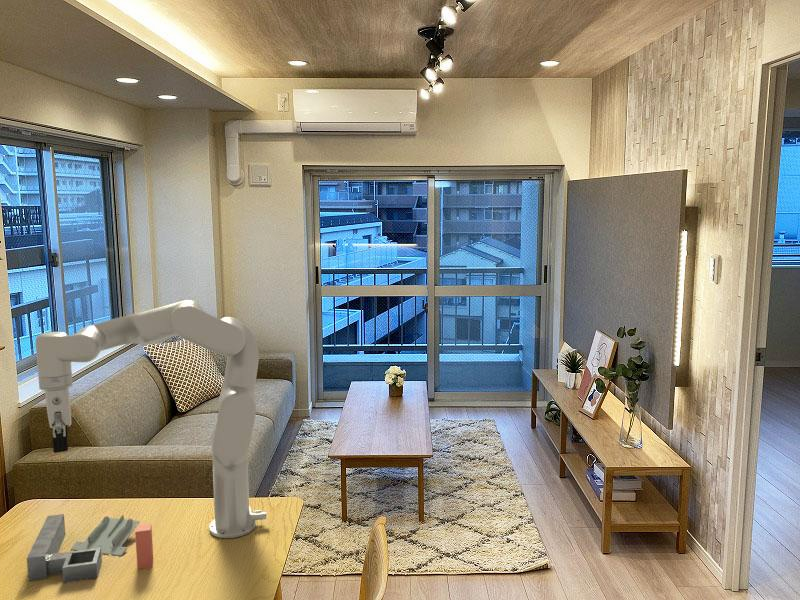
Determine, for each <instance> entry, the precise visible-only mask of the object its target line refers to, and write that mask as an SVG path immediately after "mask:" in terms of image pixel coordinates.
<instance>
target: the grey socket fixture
mask: <svg viewBox="0 0 800 600" xmlns="http://www.w3.org/2000/svg"><path fill="white" fill-rule="evenodd" d="M65 523H66V522H65V513H60V514H53V515H52V514H51V515H47V516H46V518H45V521H44V523H43V524H42V527H41V529H40V531H39V533H38V535H37V537H36V539H35V540H34V543H33V544H32V547H31V549H30V551H29V553H28V554H27V557H26V564H27V565H26V566H27V567H26V568H27V575H28V576H27V577H28V578H27V579H28V582H31V581H32V582H33V581H40V580H45V579H48V577H49V576H56V575H62V580H63V581H62V583H63V584H68V583H73V581H75V582H81V580H82V581H87V580H94V578H95V579H98V577H99V573H100V571H99V570H101V567H102V564H103V558H102V555H103V554H101V546H100V548H93V549H85V550H78V551H72V550H70V551H63V552H60V548H61V546H62V544H63V542H64V539H65V536H66V524H65ZM101 563H102V564H101ZM67 582H68V583H67Z"/></svg>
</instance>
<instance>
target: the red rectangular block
mask: <svg viewBox="0 0 800 600" xmlns="http://www.w3.org/2000/svg"><path fill="white" fill-rule="evenodd" d="M152 528H153V527H152V523H144V524H138V525H137V526H136V528H135V529H134V531H135V532H134V536H135V537H134V538H135V549H136V550H135V551H136V567H137V570H140V569H141V568H142V569H146V568H147V567H149V568H153V565H154V564H153V563H154V546H153V545H154V544H153V531H152V530H153V529H152Z"/></svg>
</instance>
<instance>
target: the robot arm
mask: <svg viewBox="0 0 800 600" xmlns="http://www.w3.org/2000/svg"><path fill="white" fill-rule="evenodd" d="M173 337H179V338H182V339H184V340H186V341H188V342H190V343H192V344H194V345H197V346H199V347H201V348H204V349H206V350H208V351H210V352H212V353H215V354H217V355H220V356H224V357H226V364H225V370H224V377H223V381H222V387H221V390H220V391H221V392H220V393H219V397H218V413H217V419H216V423H215V425H214V427H213V429H212V431H211V435H210V441H211V443H210V444H211V453H212V454H211V455H212V461H211V462H212V484H213V485H212V486H213V506H214V520H212V521H211V522H210V523H209V532H210V534H211V535H213V537H217V538H221V539H236V538H239V537H242V536H245V535H248V534H249V533H251V532H252V531H253V530H254V529H255V528H256V521H262V520H267V512H266V511H265V512H264V511H263V512H262V509H257V510H253V509H251V505H250V493H249V492H250V488H249V487H250V485H249V456H248V455H249V450H250V446H251V442H252V438H253V437H252V435H253V431H254V426H255V421H256V413H257V405H256V398H255V387H256V382H257V381H256V380H257V375H258V369H259V362H260V361H259V358H260V357H259V356H260V355H259V352H260V351H259V347H258V343H257V339H256V338H255V335H254V333H253V332H252V330H251V329H250V328H249V327H248V326H247V325H246V324H245V323H244V322H243V321H241V320H240V319H238V318H236V317H233V316H224V317H222V318H219V317H216V316H214V315H212V314H210V313H208V312H206V311H204V308H203V307H202V306H201V304H200V303H198V302H197V301H195V300H192V299H190V300H189V299H186V300H181V301H177V302H173V303H170V304H166V305H163V306H160V307H156V308H155V307H154V308H152V309H149V310H145V311H141V312H138V313H133V314H129V315H126V316H120V317H115V318H113V319H109V320H105V321H101V322H97V323H93V324H90V325H87V326H84V327H83V328H81V329H79V330H78V331H77V332H76V333H74V334H70V335H68V334H67V333H66V332H62V331H49V332H43V333H40V334H39V335H37V336H36V337H35V352H36V364H37V375H38V387H39V388H38V389H39V390H40V391H44V393H45V403H46V413H47V418H48V419H47V420H48V424H49V428H51V429H52V434H53V435H52V449H53V450H52V451H53V453H55V454H56V453H57V454H58V453H62V452H63V453H64V452H68V450H69V445H68V437H69V436H68V427H70V426H71V425H72V410H71V397H70V390H69V388H71V387H72V386H73V373H72V363H88V362H92V361H94V360H95V359H96V358H98V356H99V354H100V353H101V352H103V351H105V350H106V351H107V350H110V349H112V348H116V347H118V346H119V347H120V346H124V345H129V344H137V345H141V346H143V345H151V344H154V343H156V342H160V341H164V340H168V339H170V338H173Z"/></svg>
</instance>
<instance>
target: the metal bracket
mask: <svg viewBox="0 0 800 600" xmlns="http://www.w3.org/2000/svg"><path fill="white" fill-rule="evenodd" d="M124 516H125V515H123V514H122V515H121V516H120V517H119V518H117V517H109V516H108V515H105V516H104V517H103V518H102V520H100V522H99V524H97V526H96V527H95V528H94V529H93V530H92V532H91V533H90V534H89V535H88V536H87V538H86V539H85V540H84V541H75V543H74V544H73V545H72V546H71V548H70V551H72V550H75V551H78V550H85V549H93V548H100V547H101V553H103V554H102V555H106V554H111V555H112V556H111V557H116V556H118V558H119V557H122V556H123V555H124V554H125V552H126V551H127V550H128V548H127V547H126V546H123V545H124V544H125V542H126V541H127V540H128V538H130V536H131V534H133V532H134V531H135V530H136V526H137V525H140V520H133V519H132V518H128V519H125V517H124Z"/></svg>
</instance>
